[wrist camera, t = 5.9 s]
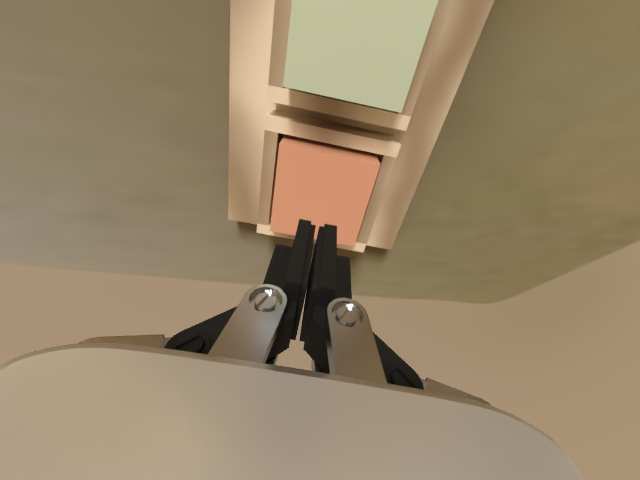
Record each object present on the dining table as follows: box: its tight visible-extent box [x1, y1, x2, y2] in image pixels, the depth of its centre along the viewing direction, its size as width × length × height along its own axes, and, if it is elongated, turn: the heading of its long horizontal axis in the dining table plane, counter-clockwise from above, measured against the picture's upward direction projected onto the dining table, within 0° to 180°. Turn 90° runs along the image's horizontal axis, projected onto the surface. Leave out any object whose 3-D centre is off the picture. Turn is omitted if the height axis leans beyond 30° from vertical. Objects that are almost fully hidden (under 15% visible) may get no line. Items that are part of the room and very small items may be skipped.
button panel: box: [228, 0, 494, 253], centre depth 16 cm, size 14×28×4 cm, turn 169°
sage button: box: [283, 0, 438, 113], centre depth 13 cm, size 6×6×3 cm
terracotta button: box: [270, 134, 380, 247], centre depth 19 cm, size 6×6×3 cm
